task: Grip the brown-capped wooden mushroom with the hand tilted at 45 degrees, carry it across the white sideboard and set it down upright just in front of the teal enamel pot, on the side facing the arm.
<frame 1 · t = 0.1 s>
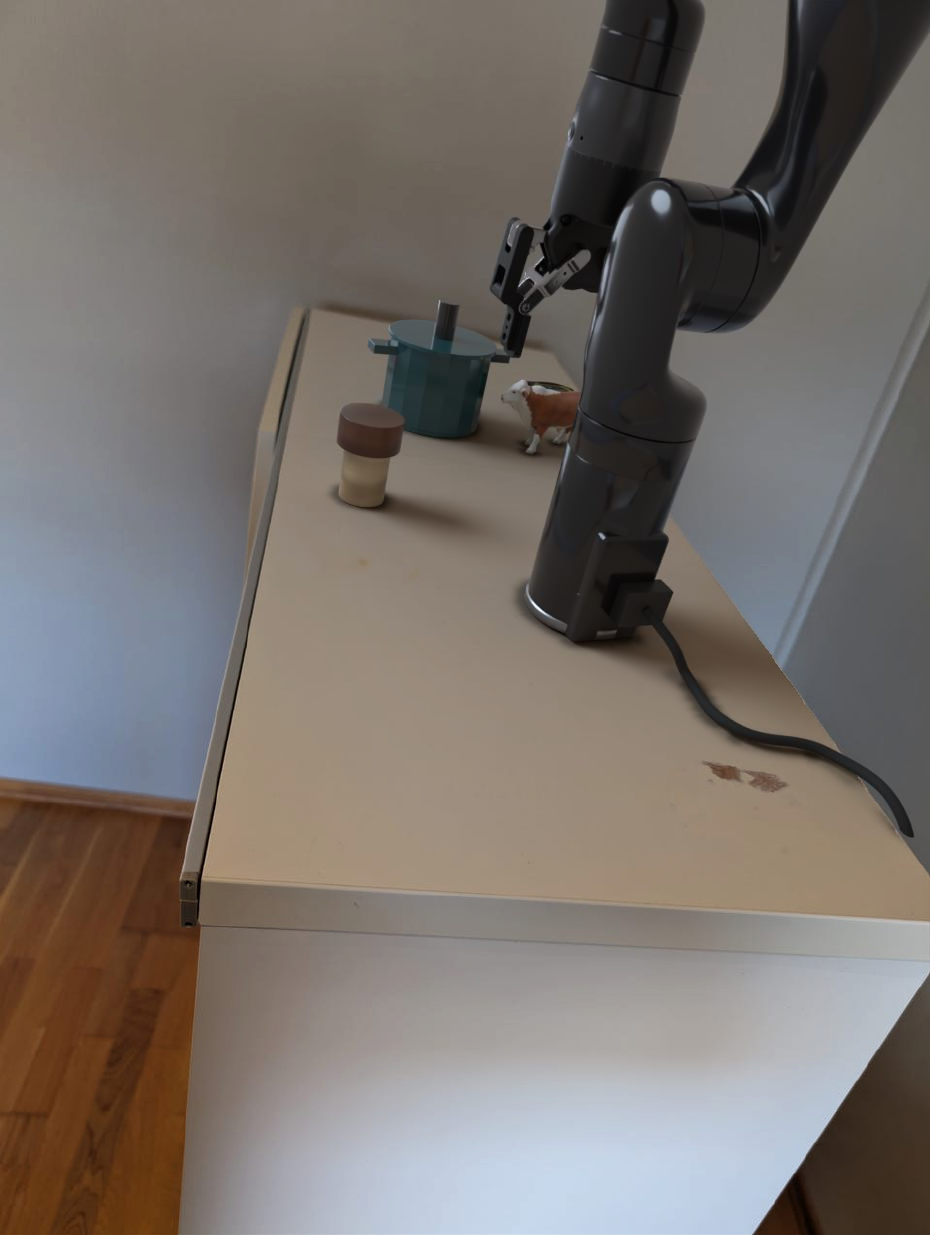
hand: (554, 358, 74), 17 cm above the table, tool pointing down, fingers open, 8 cm apart
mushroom: (361, 497, 84), on the table
pot: (428, 418, 105), on the table
bull figurine: (542, 449, 105), on the table
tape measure: (541, 413, 116), on the table
pot lid: (442, 341, 100), point 9 cm above the table, touching pot
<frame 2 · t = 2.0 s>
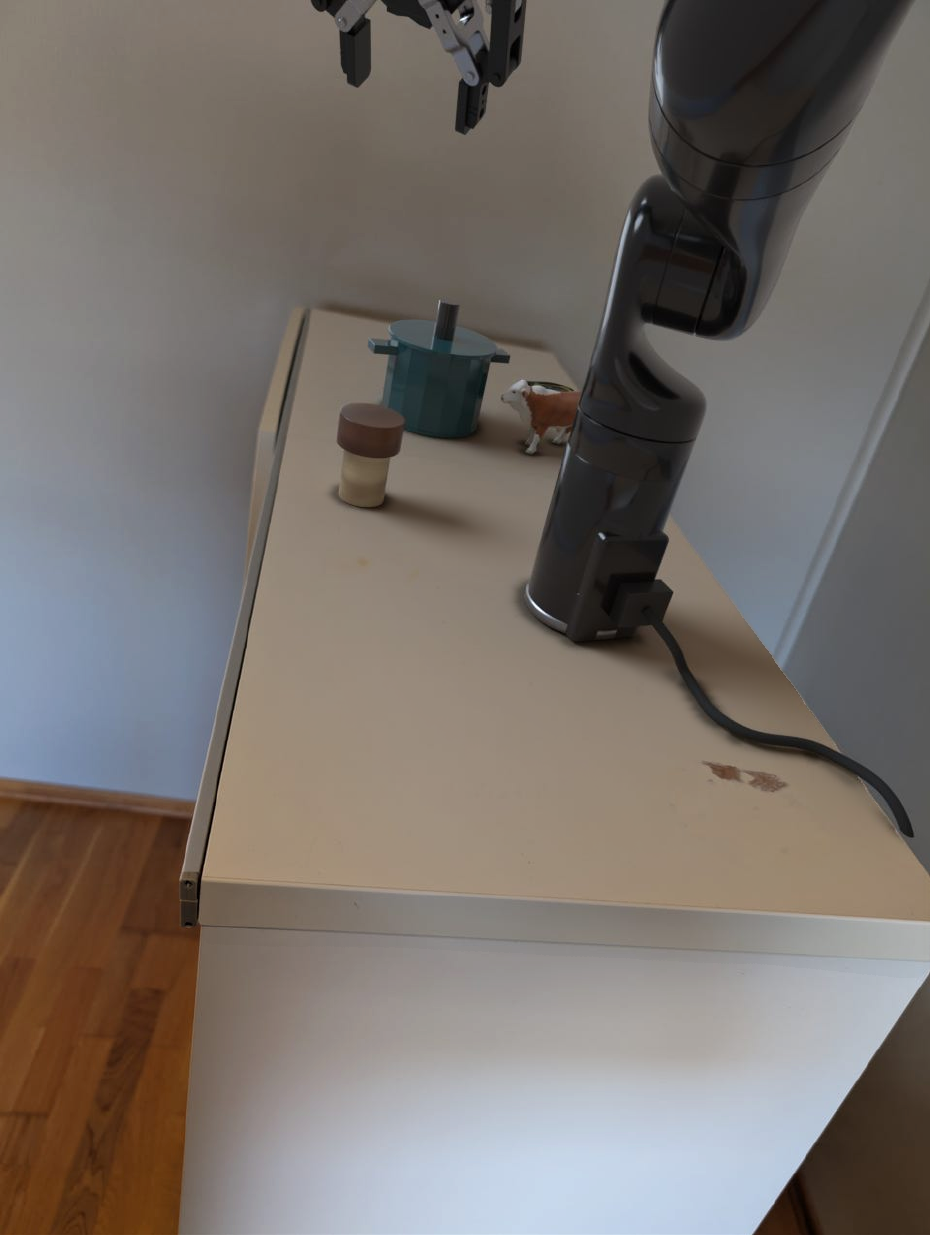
hand: (412, 103, 60), 34 cm above the table, tool tilted 35°, fingers open, 8 cm apart
nothing on the table moved.
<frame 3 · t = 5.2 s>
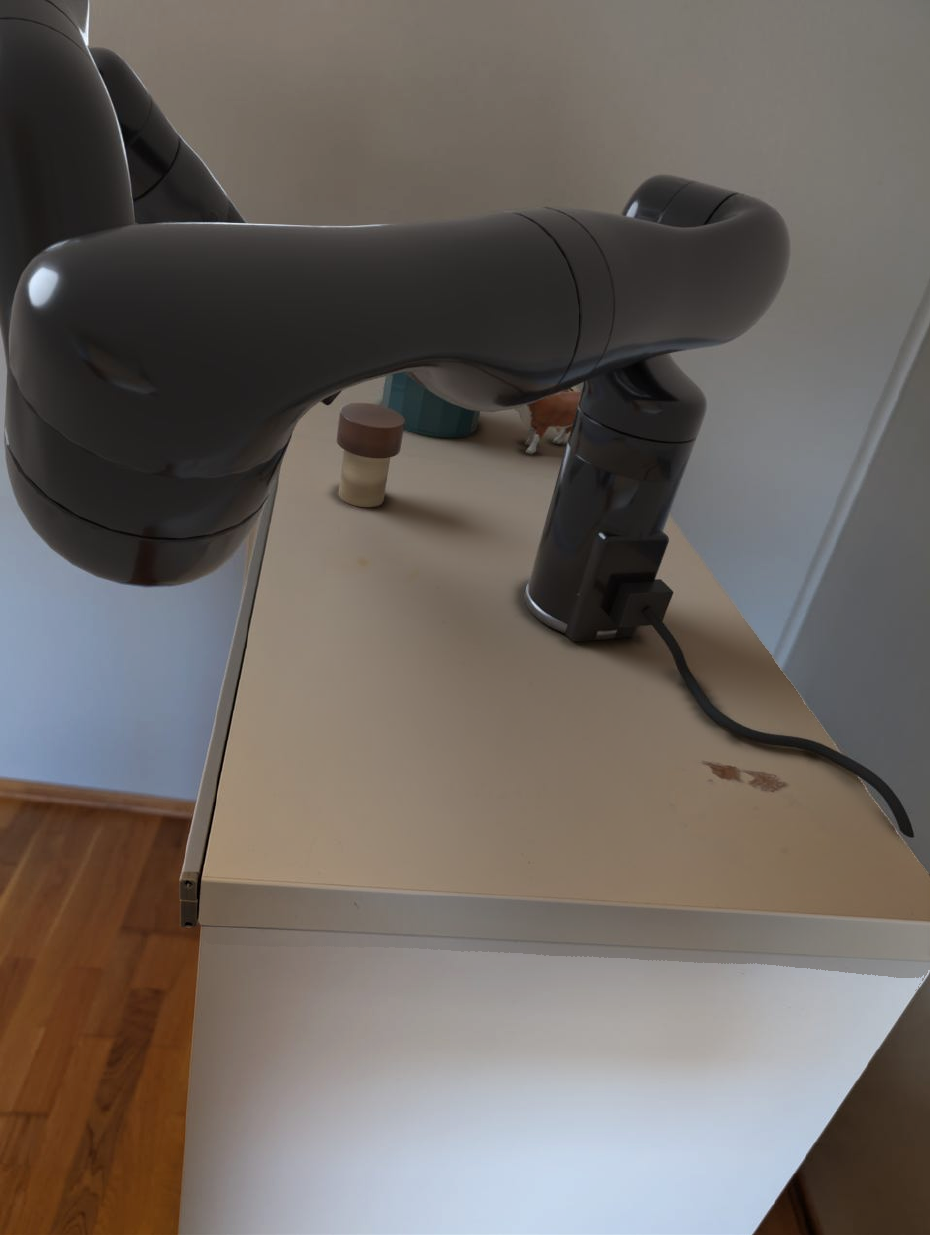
hand: (300, 377, 71), 13 cm above the table, tool tilted 45°, fingers open, 8 cm apart
nothing on the table moved.
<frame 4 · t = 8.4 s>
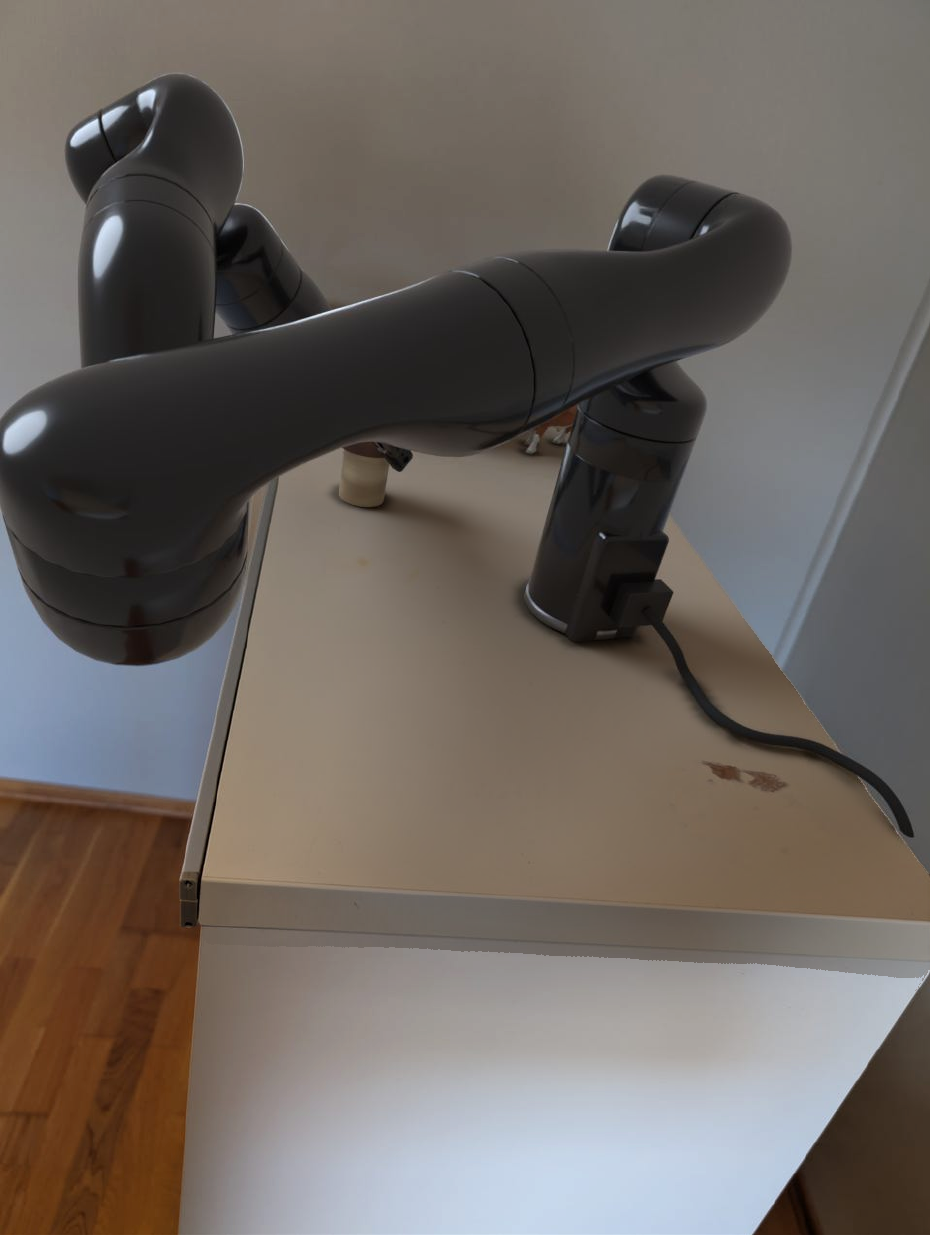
hand: (381, 449, 82), 5 cm above the table, tool tilted 45°, fingers closed on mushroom, 6 cm apart
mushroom: (361, 497, 84), on the table, touching gripper
everything else where it was.
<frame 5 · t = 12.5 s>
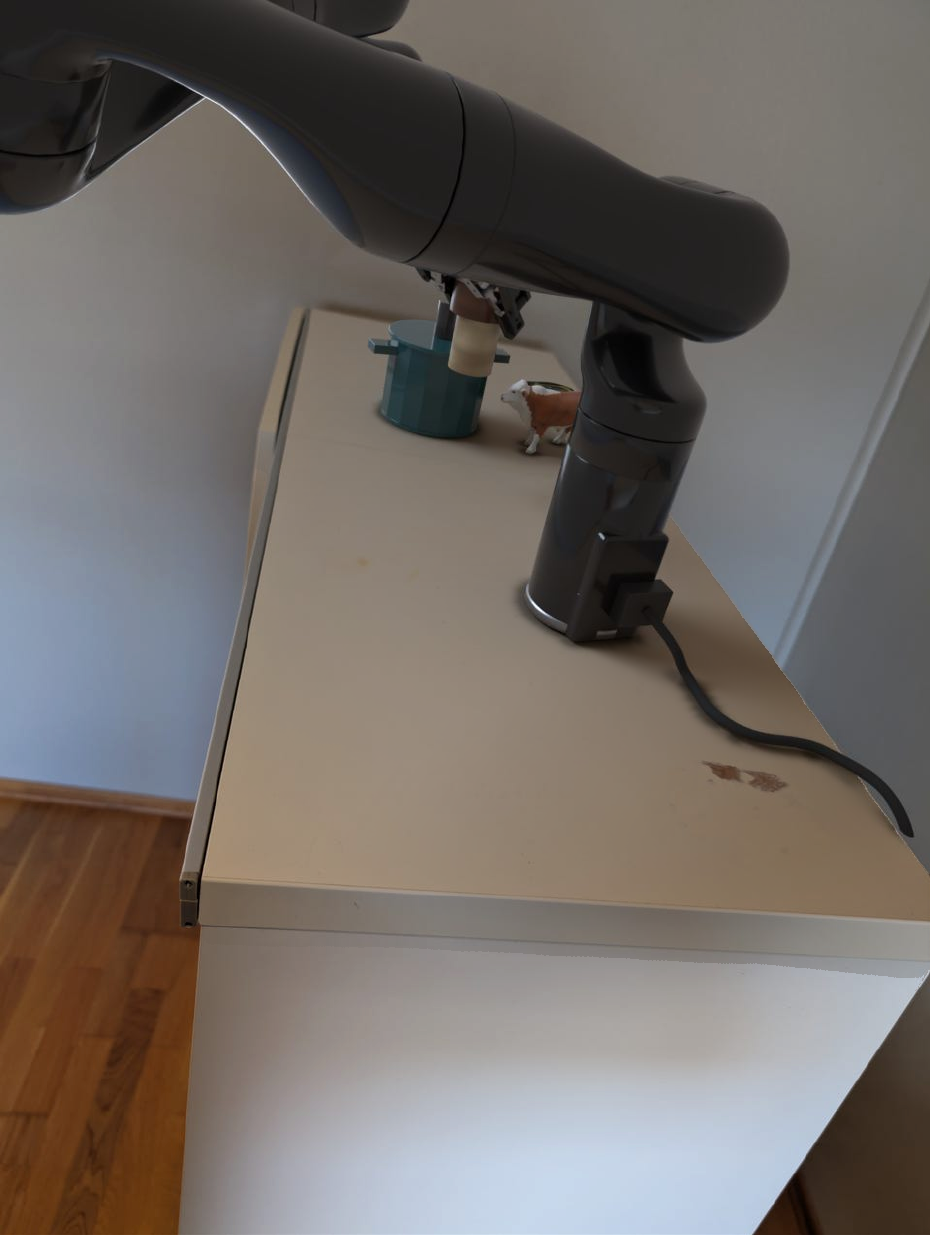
hand: (490, 321, 85), 16 cm above the table, tool tilted 45°, fingers closed on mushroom, 6 cm apart
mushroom: (469, 369, 86), point 12 cm above the table, touching gripper
everything else where it was.
when the fingers open (5 cm above the table, at t = 16.7 s): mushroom stays where it is, on the table.
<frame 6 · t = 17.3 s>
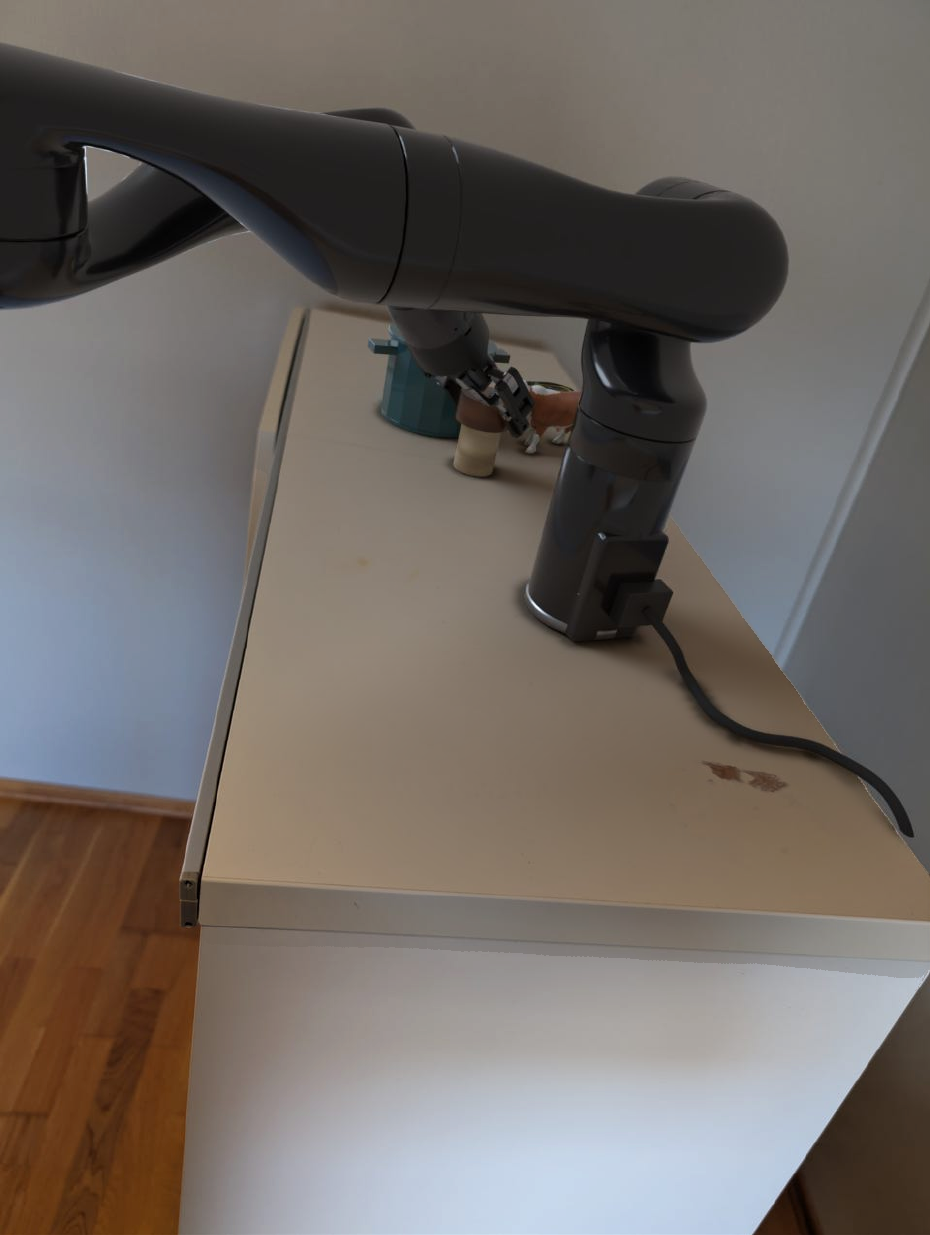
hand: (491, 416, 93), 6 cm above the table, tool tilted 45°, fingers open, 8 cm apart
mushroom: (472, 468, 95), on the table
everything else where it was.
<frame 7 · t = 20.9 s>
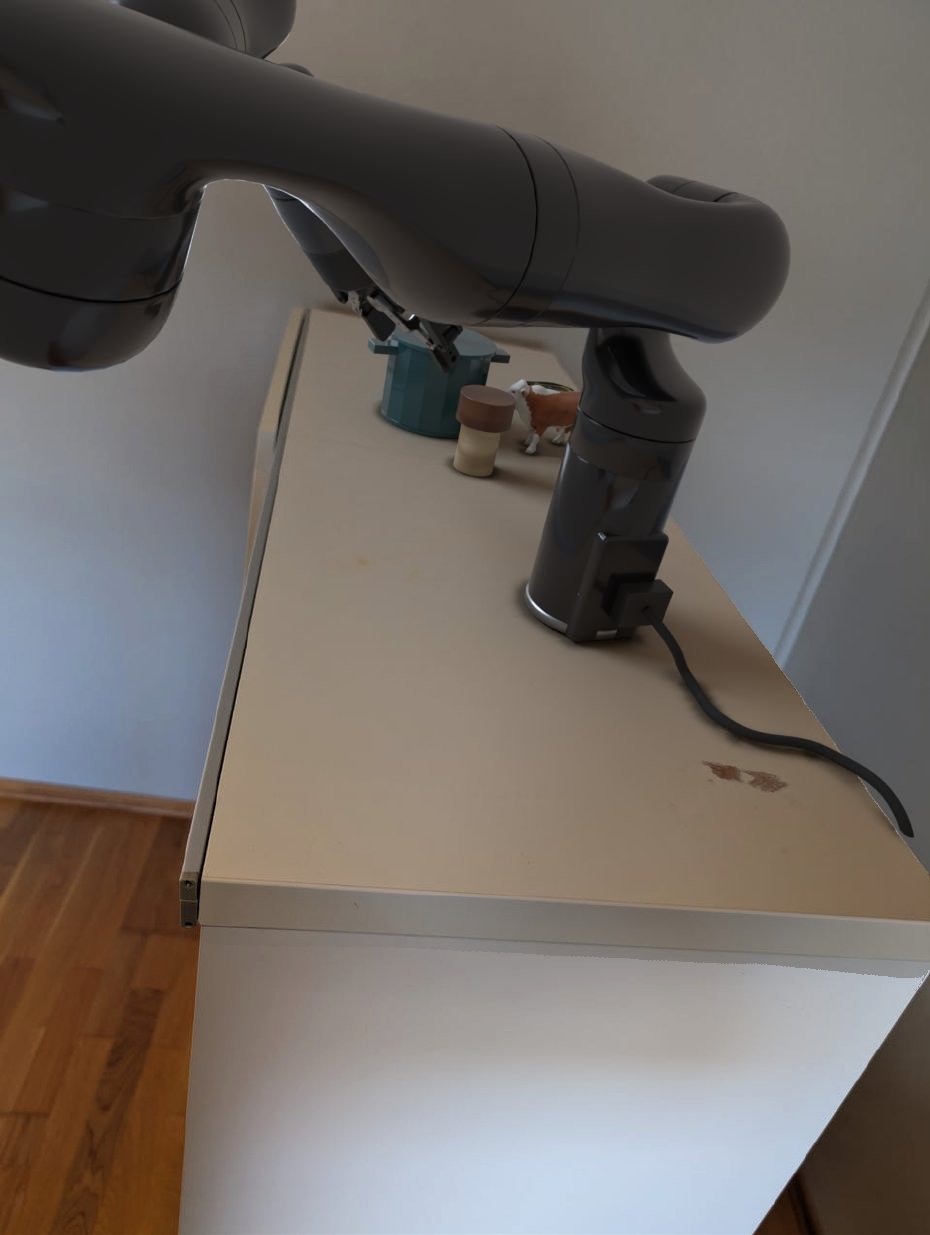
hand: (418, 349, 80), 14 cm above the table, tool tilted 45°, fingers open, 8 cm apart
nothing on the table moved.
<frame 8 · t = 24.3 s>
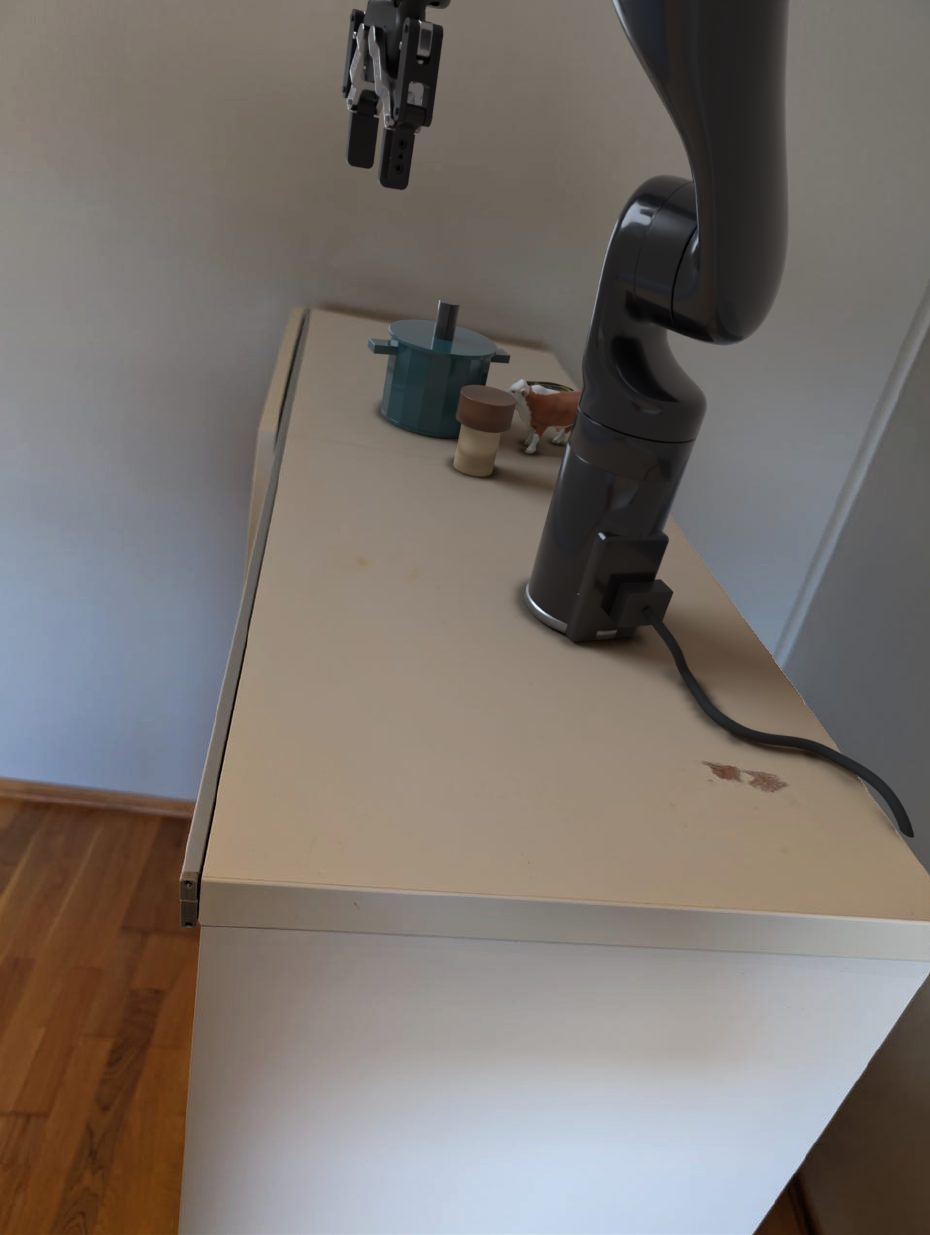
hand: (374, 177, 67), 28 cm above the table, tool pointing down, fingers open, 8 cm apart
nothing on the table moved.
at the end: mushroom inside the target area on the table beside the pot (0.5 cm from its centre), on the table; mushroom tilted 0°; the gripper is holding nothing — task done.
